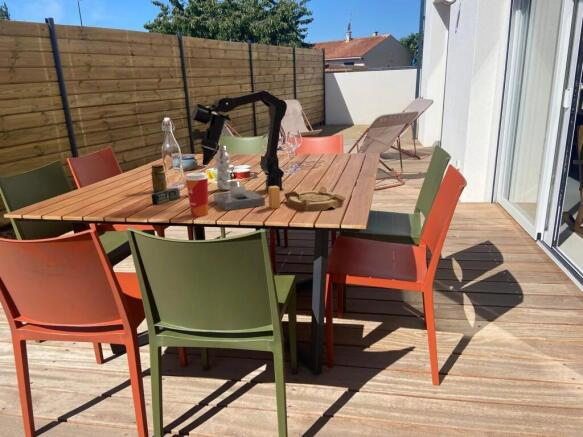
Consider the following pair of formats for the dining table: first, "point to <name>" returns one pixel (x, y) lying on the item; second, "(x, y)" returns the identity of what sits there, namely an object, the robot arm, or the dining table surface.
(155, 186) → the condiment
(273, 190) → the orange rectangular block
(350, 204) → the dining table surface
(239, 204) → the grey slotted base plate
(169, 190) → the dark grey elongated bar
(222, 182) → the plastic bottle
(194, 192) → the coffee cup
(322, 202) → the ashtray
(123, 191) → the dining table surface
